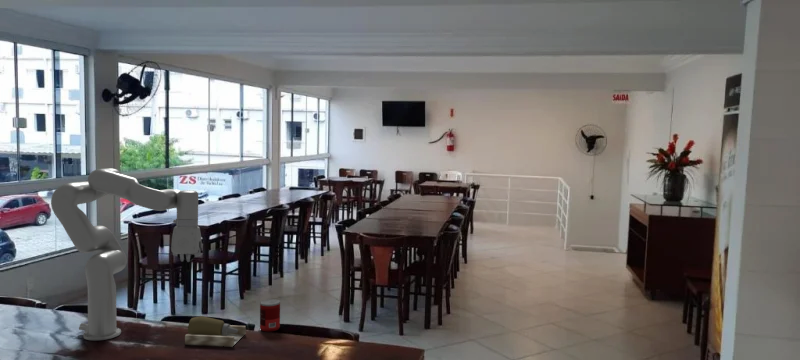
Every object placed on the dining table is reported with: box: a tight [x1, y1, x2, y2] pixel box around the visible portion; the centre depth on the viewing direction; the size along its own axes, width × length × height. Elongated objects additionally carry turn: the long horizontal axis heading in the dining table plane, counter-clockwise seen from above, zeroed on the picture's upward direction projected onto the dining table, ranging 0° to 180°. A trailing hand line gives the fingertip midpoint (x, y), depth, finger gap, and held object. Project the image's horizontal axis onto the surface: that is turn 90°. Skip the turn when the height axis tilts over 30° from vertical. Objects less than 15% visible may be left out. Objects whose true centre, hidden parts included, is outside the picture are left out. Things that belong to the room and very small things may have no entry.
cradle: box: [184, 324, 247, 348], centre depth 206 cm, size 18×13×4 cm
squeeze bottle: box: [187, 315, 238, 336], centre depth 207 cm, size 8×8×18 cm
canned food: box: [259, 298, 281, 333], centre depth 220 cm, size 8×8×11 cm
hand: (186, 271), depth 207 cm, fingers closed
